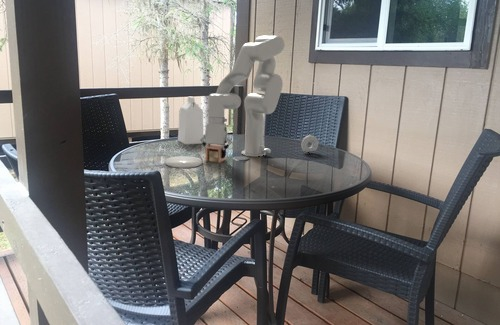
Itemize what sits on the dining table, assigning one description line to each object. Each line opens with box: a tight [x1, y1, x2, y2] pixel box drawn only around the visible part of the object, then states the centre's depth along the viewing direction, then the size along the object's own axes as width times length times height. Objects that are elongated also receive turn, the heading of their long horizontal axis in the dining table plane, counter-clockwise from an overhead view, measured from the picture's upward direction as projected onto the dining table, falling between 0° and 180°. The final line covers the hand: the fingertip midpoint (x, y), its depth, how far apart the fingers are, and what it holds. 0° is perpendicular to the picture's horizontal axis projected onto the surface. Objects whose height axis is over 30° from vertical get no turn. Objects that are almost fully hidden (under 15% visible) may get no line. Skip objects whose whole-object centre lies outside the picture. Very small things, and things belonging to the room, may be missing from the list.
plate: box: [164, 155, 203, 169], centre depth 194 cm, size 17×17×1 cm
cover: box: [205, 144, 226, 164], centre depth 201 cm, size 7×7×7 cm
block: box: [208, 149, 219, 163], centre depth 201 cm, size 4×4×5 cm
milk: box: [177, 96, 205, 145], centre depth 240 cm, size 12×12×26 cm
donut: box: [300, 134, 319, 152], centre depth 225 cm, size 10×4×10 cm, turn 112°
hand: (215, 156), depth 201 cm, fingers closed on cover, 7 cm apart
